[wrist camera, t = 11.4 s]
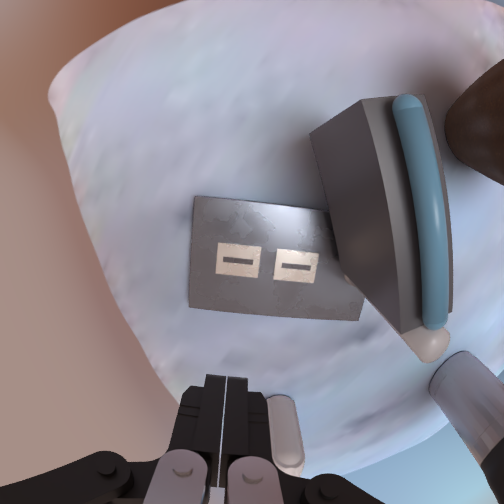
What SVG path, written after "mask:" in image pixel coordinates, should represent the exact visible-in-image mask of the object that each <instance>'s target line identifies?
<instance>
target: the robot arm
mask: <svg viewBox="0 0 504 504" xmlns="http://www.w3.org/2000/svg"><path fill="white" fill-rule="evenodd" d="M225 383H226V376H219V375H210V374H206V379H205V384H204V387H198V386H190V387H189V388H188V389H187V390H186V391H185V392H184V393H183V395H182V398H181V402H180V407H179V410H178V415H177V417H176V421H175V425H174V429H173V433H172V437H171V441H170V444H169V448H168V450H167V451H166V453H165V454H164V455H163V456H162V457H160V458H158V459H156V460H153V461H148V462H127V461H126V459H124V458H123V457H122V456H121V455H119V454H117V453H114V452H111V451H99V452H96V453H93V454H91V455H88V456H86V457H84V458H82V459H79V460H77V461H74V462H72V463H69V464H67V465H65V466H62V467H59V468H57V469H54V470H51V471H49V472H46V473H43V474H40V475H37V476H34V477H31V478H29V479H25V480H22V481H19V482H16V483H12V484H9V485H5V486H2V487H0V504H208V502H209V498H210V487H217V478H218V464H219V453H220V441H221V430H222V418H223V407H224V395H225ZM429 392H430V394H431V396H432V397H433V398H434V400H435V401H436V403H437V404H438V405H439V407H440V408H441V410H442V411H443V413H444V414H445V415H446V417H447V418H448V420H449V421H450V422H451V424H452V425H453V427H454V428H455V430H456V431H457V432H458V434H459V435H460V437H461V438H462V440H463V441H464V443H465V444H466V446H467V447H468V449H469V450H470V452H471V453H472V455H473V456H474V458H475V459H476V461H477V462H478V464H479V465H480V467H481V469H482V470H483V472H484V474H485V476H486V479H487V482H488V484H489V486H490V488H491V490H492V491H493V493H494V495H495V497H496V499H497V501H498V503H499V504H504V384H503V383H502V382H501V381H500V380H499V379H498V378H497V377H496V376H495V375H494V374H493V373H492V372H491V371H490V370H489V369H488V368H487V367H486V366H485V365H484V364H483V363H482V362H481V361H480V360H479V359H478V358H477V357H474V356H473V355H472V354H471V353H469V352H467V351H463V352H459V353H457V354H455V355H453V356H452V357H451V358H449V359H448V360H447V361H446V362H445V363H444V364H443V365H442V366H441V367H440V368H439V369H438V371H437V372H436V373H435V375H434V377H433V378H432V381H431V383H430V387H429ZM219 487H222V488H225V497H224V504H385V503H383V502H381V501H380V500H378V499H376V498H374V497H373V496H371V495H370V494H368V493H366V492H365V491H363V490H362V489H360V488H358V487H357V486H355V485H353V484H352V483H351V482H349V481H348V480H346V479H345V478H343V477H341V476H339V475H336V474H321V475H317V476H315V477H313V478H312V479H311V480H310V479H305V478H300V477H296V476H292V475H289V474H287V473H285V472H283V471H281V470H280V469H279V468H278V467H277V466H276V465H275V463H274V461H273V458H272V449H271V437H270V426H269V415H268V403H267V401H266V399H265V398H264V396H263V395H262V393H261V392H248V379H247V378H240V377H229V376H228V380H227V391H226V403H225V414H224V426H223V439H222V452H221V465H220V479H219Z"/></svg>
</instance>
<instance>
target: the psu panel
mask: <svg viewBox="0 0 504 504" xmlns="http://www.w3.org/2000/svg"><path fill="white" fill-rule="evenodd" d="M364 298H365V297H364V295H363V294H362V293H361V292H360V291H359V290H358V289H357V288H356V287H355V286H354V285H353V284H352V283H351V281H350V280H349V278H348V277H347V276H346V275H345V274H344V273H343V272H342V270H341V265H340V260H339V254H338V249H337V244H336V239H335V235H334V230H333V225H332V221H331V216H330V212H329V211H325V210H318V209H311V208H304V207H296V206H288V205H280V204H272V203H264V202H255V201H246V200H236V199H226V198H216V197H205V196H196V197H195V204H194V216H193V230H192V244H191V262H190V283H189V307H190V308H198V309H206V310H215V311H224V312H233V313H243V314H254V315H266V316H278V317H291V318H307V319H324V320H347V321H358V320H359V317H360V313H361V310H362V306H363V302H364Z"/></svg>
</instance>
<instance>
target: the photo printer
mask: <svg viewBox="0 0 504 504" xmlns="http://www.w3.org/2000/svg"><path fill="white" fill-rule="evenodd" d="M266 401H267V403H268V415H269V426H270V437H271V449H272V458H273V461H274V463H275V465H276V466H277V467H278V468H279V469H280V470H281V471H283V472H285V473H287V474H289V475H292V476H296V477H300V475H301V473H302V470H303V467H304V463H305V453H304V447H303V442H302V437H301V431H300V426H299V421H298V416H297V411H296V406H295V402H294V400H291V399H290V398H289V397H287V396H282V395H277V396H272V397H271V398H268V399H267V400H266Z"/></svg>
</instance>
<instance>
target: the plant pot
mask: <svg viewBox="0 0 504 504" xmlns="http://www.w3.org/2000/svg"><path fill="white" fill-rule="evenodd" d="M445 134H446V138H447V141H448V144H449V146H450V148H451V150H452V152H453V153H454V155H455V156H456V157H457V158H458V159H459V160H460V161H462V162H463V163H465V164H466V165H468V166H469V167H471V168H473V169H474V170H476V171H478V172H479V173H481V174H483V175H485V176H487V177H488V178H490V179H492V180H494V181H496V182H498V183H500V184H501V185H503V186H504V59H503V60H501V61H500V62H498V63H497V64H496V65H494V66H493V67H492V68H490V69H489V70H488V71H487V72H485V73H484V74H483V75H482V76H481V77H479V78H478V79H477V80H476V81H475V82H474V83H473V84H472V85H471V86H470V87H469V88H468V89H467V90H466V91H465V92H464V93H463V94H462V95H461V96H460V97H459V98H458V99H457V101H456V102H455V103H454V104H453V106H452V107H451V108H450V109H449V111H448V113H447V115H446V118H445Z"/></svg>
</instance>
